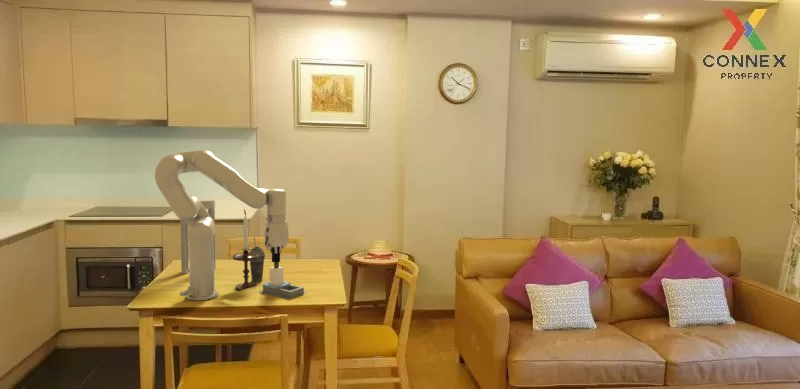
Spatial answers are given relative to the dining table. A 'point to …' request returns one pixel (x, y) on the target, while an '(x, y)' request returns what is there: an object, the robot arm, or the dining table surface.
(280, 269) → the white bottle
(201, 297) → the robot arm
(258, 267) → the beverage cup
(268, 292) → the blue-grey compartment tray
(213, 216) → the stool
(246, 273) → the candlestick
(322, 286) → the dining table surface
